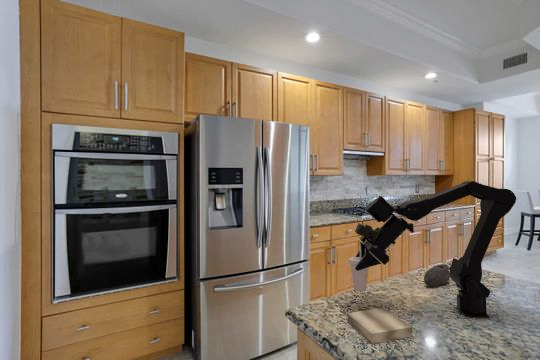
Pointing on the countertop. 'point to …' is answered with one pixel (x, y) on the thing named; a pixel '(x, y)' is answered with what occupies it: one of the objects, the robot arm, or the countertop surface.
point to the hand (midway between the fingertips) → (354, 266)
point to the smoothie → (358, 274)
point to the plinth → (379, 325)
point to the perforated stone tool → (437, 275)
